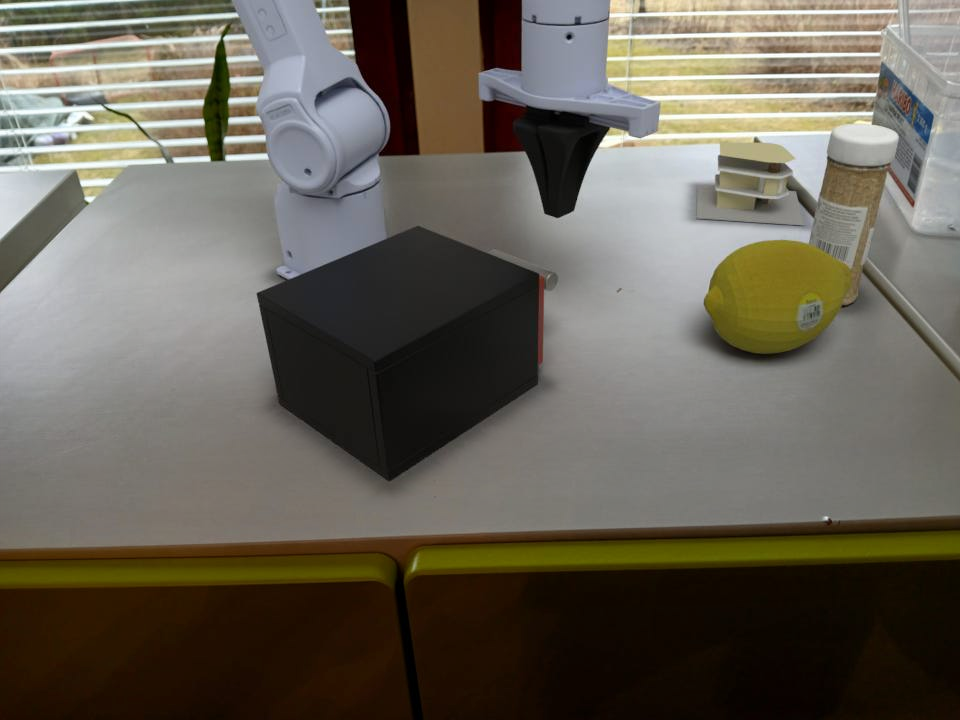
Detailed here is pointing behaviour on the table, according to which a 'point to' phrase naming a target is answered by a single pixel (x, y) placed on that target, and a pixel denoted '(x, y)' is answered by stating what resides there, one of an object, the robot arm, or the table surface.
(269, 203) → the table surface
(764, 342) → the lemon
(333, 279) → the black drawer cabinet
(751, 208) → the stacked layers on plate
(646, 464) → the table surface
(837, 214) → the seasoning bottle
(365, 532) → the table surface
